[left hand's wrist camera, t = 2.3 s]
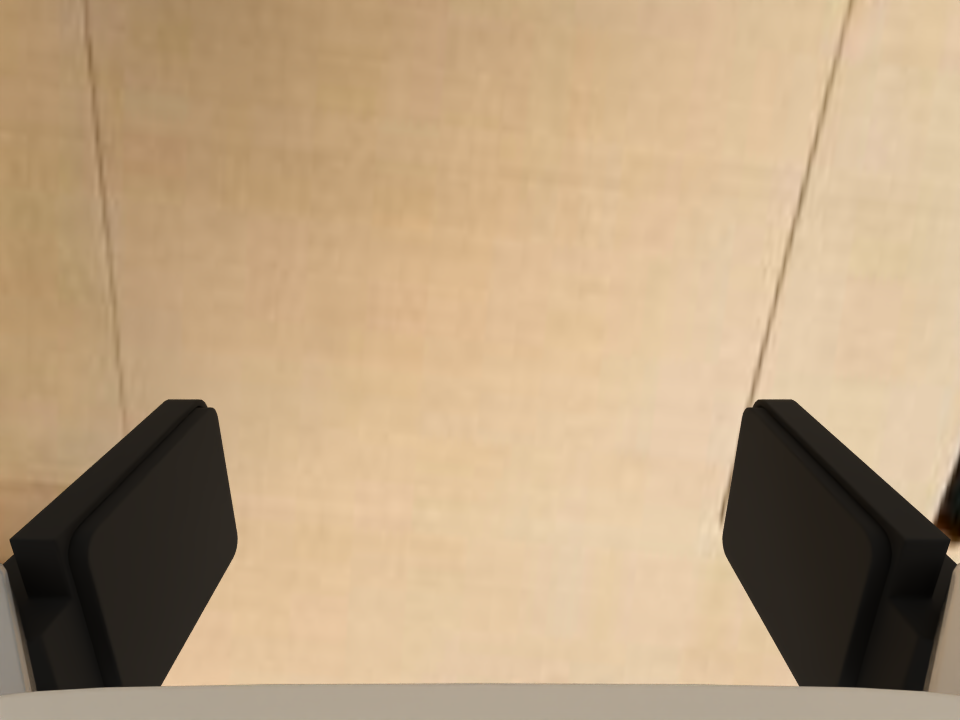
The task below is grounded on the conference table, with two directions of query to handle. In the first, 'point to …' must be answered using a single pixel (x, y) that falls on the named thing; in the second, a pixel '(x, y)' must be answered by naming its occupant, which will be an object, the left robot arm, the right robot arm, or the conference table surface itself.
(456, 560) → the conference table surface
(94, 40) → the conference table surface
